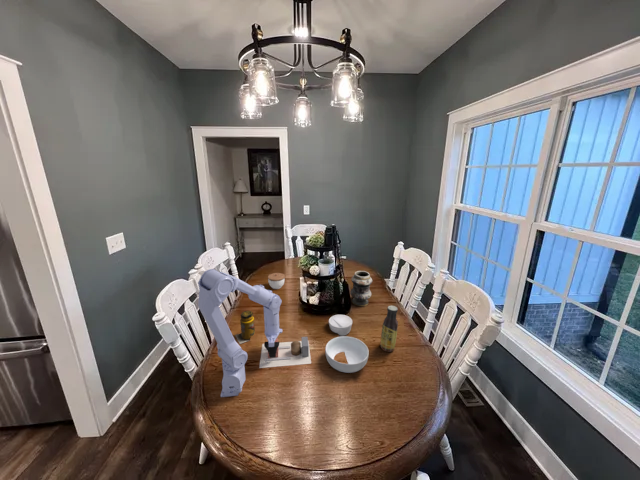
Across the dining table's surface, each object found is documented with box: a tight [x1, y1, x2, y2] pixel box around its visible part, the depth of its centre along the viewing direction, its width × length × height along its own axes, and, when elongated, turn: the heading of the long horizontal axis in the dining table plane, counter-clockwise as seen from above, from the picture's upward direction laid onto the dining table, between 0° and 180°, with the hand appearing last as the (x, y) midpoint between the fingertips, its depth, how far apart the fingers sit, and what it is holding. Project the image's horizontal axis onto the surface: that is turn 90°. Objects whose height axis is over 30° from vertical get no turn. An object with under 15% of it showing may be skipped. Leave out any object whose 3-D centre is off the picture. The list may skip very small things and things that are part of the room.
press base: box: [258, 336, 312, 369], centre depth 106 cm, size 14×20×6 cm
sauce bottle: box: [380, 305, 399, 353], centre depth 109 cm, size 7×6×20 cm
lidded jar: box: [267, 272, 286, 290], centre depth 167 cm, size 11×11×9 cm
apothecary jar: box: [349, 270, 373, 307], centre depth 148 cm, size 12×12×18 cm
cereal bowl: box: [324, 335, 370, 374], centre depth 102 cm, size 17×17×7 cm
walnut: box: [291, 340, 301, 356], centre depth 106 cm, size 4×4×4 cm
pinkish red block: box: [268, 337, 279, 358], centre depth 105 cm, size 4×4×6 cm
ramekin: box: [328, 314, 353, 337], centre depth 123 cm, size 11×11×5 cm
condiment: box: [234, 310, 256, 345], centre depth 117 cm, size 7×8×12 cm
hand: (273, 350), depth 105 cm, fingers open, 7 cm apart
